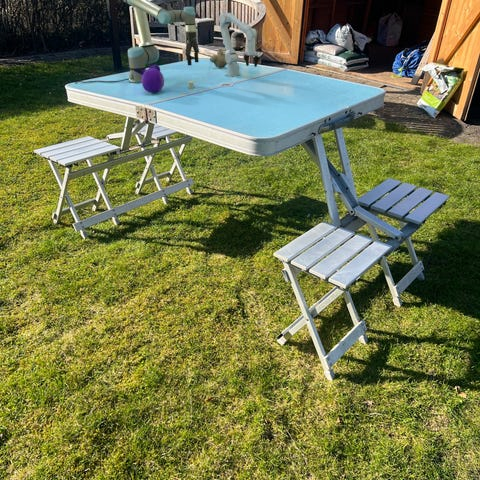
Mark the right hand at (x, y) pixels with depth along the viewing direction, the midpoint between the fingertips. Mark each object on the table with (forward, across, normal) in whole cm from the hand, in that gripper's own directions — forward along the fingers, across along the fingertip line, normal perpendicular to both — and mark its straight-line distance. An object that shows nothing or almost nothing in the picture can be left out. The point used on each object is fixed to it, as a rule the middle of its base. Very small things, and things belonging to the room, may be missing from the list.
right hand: (251, 66), depth 338 cm
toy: (+8, -31, -75) cm, 81 cm away
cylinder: (+8, -15, -52) cm, 54 cm away
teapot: (+8, -48, +22) cm, 54 cm away
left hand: (-5, -26, -36) cm, 45 cm away
